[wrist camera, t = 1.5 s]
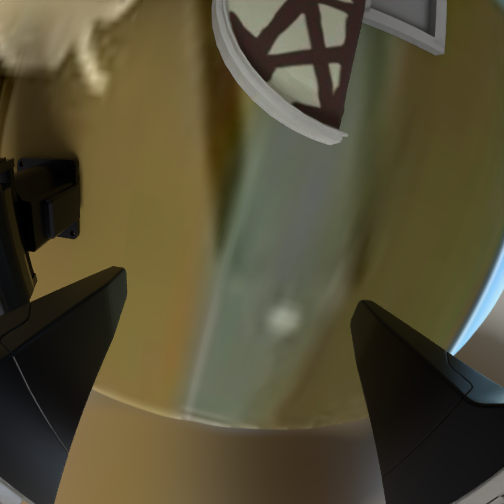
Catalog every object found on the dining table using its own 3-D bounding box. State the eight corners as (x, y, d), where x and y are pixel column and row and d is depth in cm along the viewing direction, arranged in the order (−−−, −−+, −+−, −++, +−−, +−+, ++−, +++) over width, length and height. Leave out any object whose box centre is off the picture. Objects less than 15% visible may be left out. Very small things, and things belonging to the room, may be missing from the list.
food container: (244, -34, 13) (244, -116, 4) (329, -16, 14) (382, -83, 5) (208, 117, 18) (174, 117, 9) (298, 134, 19) (344, 150, 10)
